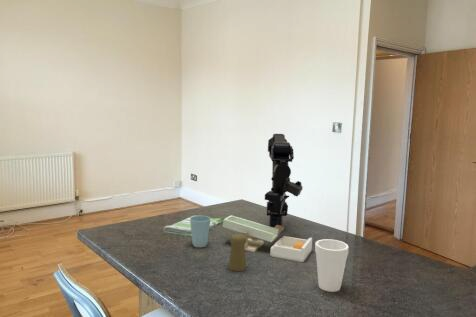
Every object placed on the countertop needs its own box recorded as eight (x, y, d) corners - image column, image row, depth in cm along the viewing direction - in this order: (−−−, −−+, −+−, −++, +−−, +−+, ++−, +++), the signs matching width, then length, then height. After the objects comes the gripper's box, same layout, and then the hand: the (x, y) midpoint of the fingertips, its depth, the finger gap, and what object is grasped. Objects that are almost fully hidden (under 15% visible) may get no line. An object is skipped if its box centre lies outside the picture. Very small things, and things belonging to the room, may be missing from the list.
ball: (293, 242, 140) (302, 238, 139) (298, 252, 140) (307, 248, 138) (289, 246, 137) (299, 241, 135) (295, 256, 136) (305, 251, 134)
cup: (205, 240, 150) (205, 214, 149) (213, 246, 144) (214, 219, 142) (186, 243, 146) (187, 216, 145) (194, 249, 140) (195, 222, 138)
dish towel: (161, 232, 160) (161, 224, 159) (191, 218, 180) (191, 211, 180) (197, 239, 153) (197, 230, 152) (223, 224, 173) (223, 216, 173)
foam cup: (339, 297, 107) (342, 253, 105) (308, 288, 112) (310, 246, 110) (349, 284, 115) (352, 243, 113) (319, 276, 120) (322, 237, 118)
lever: (239, 216, 160) (240, 209, 160) (284, 229, 153) (286, 222, 152) (222, 226, 146) (223, 219, 145) (271, 242, 138) (272, 234, 137)
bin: (280, 245, 147) (281, 232, 146) (311, 250, 142) (312, 237, 141) (270, 256, 136) (270, 242, 135) (303, 262, 131) (304, 248, 130)
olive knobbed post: (248, 265, 128) (249, 233, 126) (243, 272, 122) (244, 239, 120) (231, 262, 129) (232, 231, 128) (225, 269, 124) (226, 236, 122)
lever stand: (245, 239, 152) (245, 223, 151) (264, 243, 149) (264, 226, 148) (234, 248, 142) (234, 231, 141) (254, 252, 139) (254, 234, 138)
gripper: (294, 180, 136) (292, 223, 138) (307, 173, 153) (305, 211, 155) (264, 177, 141) (263, 218, 143) (280, 170, 158) (278, 207, 160)
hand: (279, 214), depth 150 cm, fingers closed
